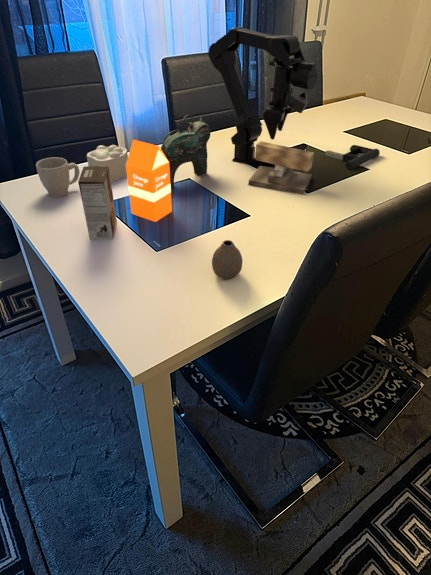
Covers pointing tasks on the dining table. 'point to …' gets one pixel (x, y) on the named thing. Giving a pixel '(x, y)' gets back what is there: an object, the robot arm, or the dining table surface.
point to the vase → (227, 261)
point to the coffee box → (98, 202)
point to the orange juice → (148, 181)
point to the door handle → (355, 156)
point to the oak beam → (284, 156)
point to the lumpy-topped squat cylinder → (110, 160)
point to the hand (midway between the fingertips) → (276, 134)
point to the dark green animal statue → (187, 148)
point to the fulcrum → (280, 179)
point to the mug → (56, 175)
